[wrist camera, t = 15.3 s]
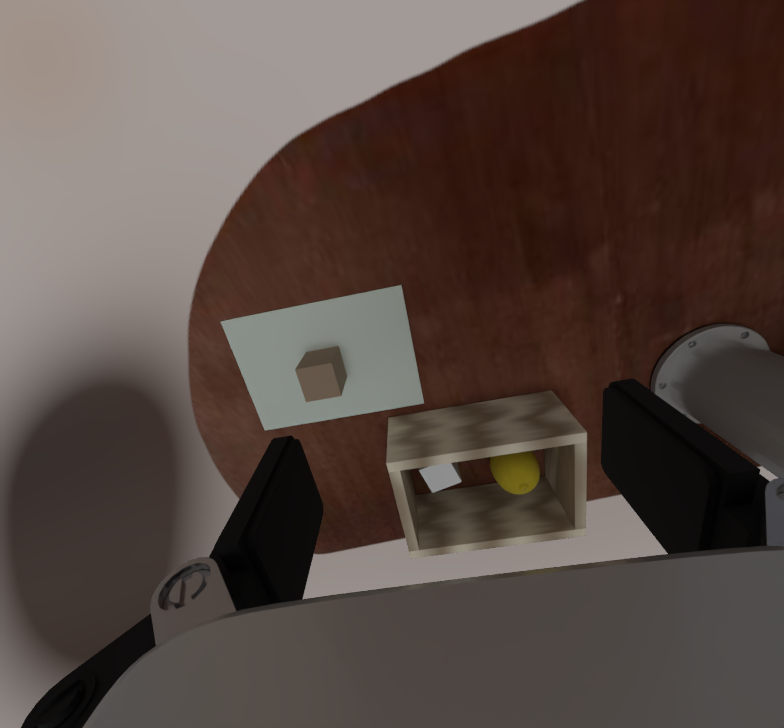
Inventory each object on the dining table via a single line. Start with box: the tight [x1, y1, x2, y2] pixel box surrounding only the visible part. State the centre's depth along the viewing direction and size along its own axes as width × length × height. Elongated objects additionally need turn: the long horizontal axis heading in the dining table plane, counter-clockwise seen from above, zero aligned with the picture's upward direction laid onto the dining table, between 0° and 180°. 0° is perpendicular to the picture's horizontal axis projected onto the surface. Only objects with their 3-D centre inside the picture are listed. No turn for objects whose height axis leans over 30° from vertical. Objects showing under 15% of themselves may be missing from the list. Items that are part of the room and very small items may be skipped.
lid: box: [221, 285, 424, 430], centre depth 41 cm, size 21×15×6 cm
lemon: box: [490, 451, 540, 495], centre depth 44 cm, size 6×6×8 cm
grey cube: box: [419, 462, 462, 493], centre depth 47 cm, size 4×4×4 cm
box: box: [386, 390, 587, 558], centre depth 44 cm, size 20×14×9 cm
